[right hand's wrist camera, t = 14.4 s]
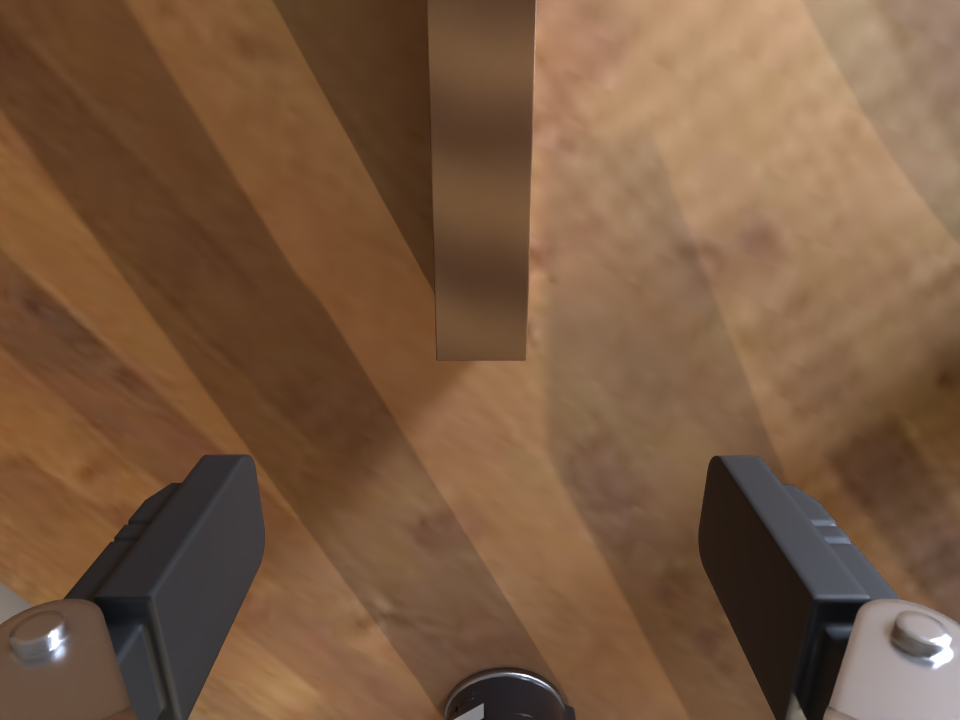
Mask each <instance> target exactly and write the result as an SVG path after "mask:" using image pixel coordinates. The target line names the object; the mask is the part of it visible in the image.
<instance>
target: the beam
mask: <svg viewBox="0 0 960 720" xmlns="http://www.w3.org/2000/svg"><path fill="white" fill-rule="evenodd" d="M426 1H427V37H428V73H429V109H430V146H431V182H432V218H433V254H434V290H435V327H436V360H438V361H525V360H527V331H528V295H529V259H530V224H531V188H532V152H533V116H534V80H535V45H536V9H537V0H426Z"/></svg>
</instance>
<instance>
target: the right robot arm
mask: <svg viewBox="0 0 960 720" xmlns="http://www.w3.org/2000/svg"><path fill="white" fill-rule="evenodd" d="M698 541H699V551H700V557H701V561H702V564H703V567H704V569H705V571H706V573H707V575H708V578H709V580H710V582H711V584H712V586H713V588H714V590H715V592H716V594H717V596H718V599H719V601H720V603H721V605H722V607H723V609H724V611H725V613H726V615H727V617H728V620H729V622H730V624H731V626H732V628H733V630H734V632H735V634H736V636H737V638H738V641H739V643H740V645H741V647H742V649H743V651H744V653H745V655H746V657H747V659H748V662H749V664H750V666H751V668H752V670H753V672H754V674H755V676H756V678H757V680H758V683H759V685H760V687H761V689H762V691H763V693H764V695H765V697H766V699H767V702H768V704H769V706H770V708H771V710H772V712H773V714H774V716H775V718H776V720H960V625H959V624H958V623H957V622H955V621H954V620H952V619H950V618H949V617H947V616H945V615H943V614H942V613H940V612H938V611H936V610H933V609H931V608H928V607H926V606H923V605H920V604H917V603H914V602H909V601H905V600H901V599H900V598H899V597H898V595H897V594H896V593H895V592H894V591H893V590H892V588H891V587H890V586H889V585H888V584H887V582H886V581H885V580H884V579H883V578H882V576H881V575H880V574H879V573H878V572H877V570H876V569H875V568H874V567H873V566H872V564H871V563H870V562H869V561H868V560H867V559H866V557H865V556H864V555H863V554H862V553H861V551H860V550H859V549H858V548H857V547H856V545H855V544H851V543H850V538H849V537H848V536H847V535H846V533H845V532H844V531H843V530H842V529H841V527H840V526H836V522H835V520H834V519H833V518H832V517H831V516H830V514H829V513H828V512H827V511H826V510H825V508H824V507H823V506H822V505H821V504H820V502H819V501H817V500H815V499H814V498H812V497H811V496H809V495H808V494H806V493H805V492H803V491H802V490H800V489H799V488H797V487H795V486H794V485H792V484H782V483H781V482H780V481H779V480H778V478H777V477H776V476H775V474H774V473H773V472H772V471H771V469H770V468H769V467H768V466H767V464H766V463H765V462H764V460H763V459H762V458H761V457H759V456H714V457H712V459H711V461H710V463H709V466H708V472H707V478H706V485H705V492H704V498H703V505H702V512H701V518H700V525H699V535H698ZM264 544H265V530H264V522H263V515H262V508H261V502H260V495H259V488H258V481H257V475H256V468H255V464H254V461H253V458H252V457H251V456H250V455H204V456H203V457H202V458H201V459H200V460H199V462H198V463H197V464H196V465H195V467H194V468H193V469H192V471H191V472H190V473H189V475H188V476H187V477H186V478H185V480H184V481H183V482H182V483H171V484H170V485H168V486H167V487H165V488H163V489H162V490H160V491H159V492H157V493H156V494H154V495H153V496H151V497H150V498H148V499H147V500H145V501H144V503H143V504H142V505H141V506H140V507H139V509H138V510H137V511H136V512H135V513H134V515H133V516H132V517H131V518H130V519H129V522H128V525H124V527H123V528H122V529H121V530H120V531H119V533H118V534H117V535H116V536H115V537H114V542H110V543H109V545H108V546H107V547H106V548H105V549H104V551H103V552H102V553H101V554H100V555H99V557H98V558H97V559H96V560H95V561H94V563H93V564H92V565H91V566H90V568H89V569H88V570H87V571H86V572H85V574H84V575H83V576H82V577H81V578H80V580H79V581H78V582H77V583H76V584H75V586H74V587H73V588H72V589H71V590H70V592H69V593H68V594H67V595H66V596H65V598H64V599H61V600H55V601H51V602H46V603H43V604H40V605H37V606H34V607H32V608H29V609H27V610H24V611H22V612H20V613H19V614H17V615H15V616H13V617H11V618H10V619H8V620H6V621H5V622H3V623H2V624H1V625H0V720H188V717H189V715H190V713H191V711H192V709H193V707H194V705H195V703H196V700H197V698H198V696H199V694H200V692H201V690H202V688H203V686H204V683H205V681H206V679H207V677H208V675H209V673H210V671H211V669H212V666H213V664H214V662H215V660H216V658H217V656H218V654H219V651H220V649H221V647H222V645H223V643H224V641H225V639H226V637H227V634H228V632H229V630H230V628H231V626H232V624H233V622H234V620H235V617H236V615H237V613H238V611H239V609H240V607H241V605H242V603H243V600H244V598H245V596H246V594H247V592H248V590H249V588H250V586H251V583H252V581H253V579H254V577H255V575H256V573H257V571H258V569H259V566H260V564H261V561H262V557H263V552H264ZM444 720H576V719H575V712H574V709H573V708H572V707H570V706H567V705H566V704H564V702H563V699H562V697H561V695H560V693H559V692H558V690H557V689H556V688H555V687H554V686H553V685H552V684H551V683H550V682H549V681H547V680H546V679H544V678H543V677H541V676H539V675H537V674H535V673H532V672H529V671H526V670H521V669H515V668H496V669H490V670H485V671H482V672H479V673H476V674H474V675H472V676H470V677H468V678H466V679H465V680H463V681H462V682H461V683H459V684H458V685H457V686H456V687H455V688H454V689H453V691H452V692H451V693H450V695H449V697H448V699H447V701H446V705H445V712H444Z"/></svg>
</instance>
